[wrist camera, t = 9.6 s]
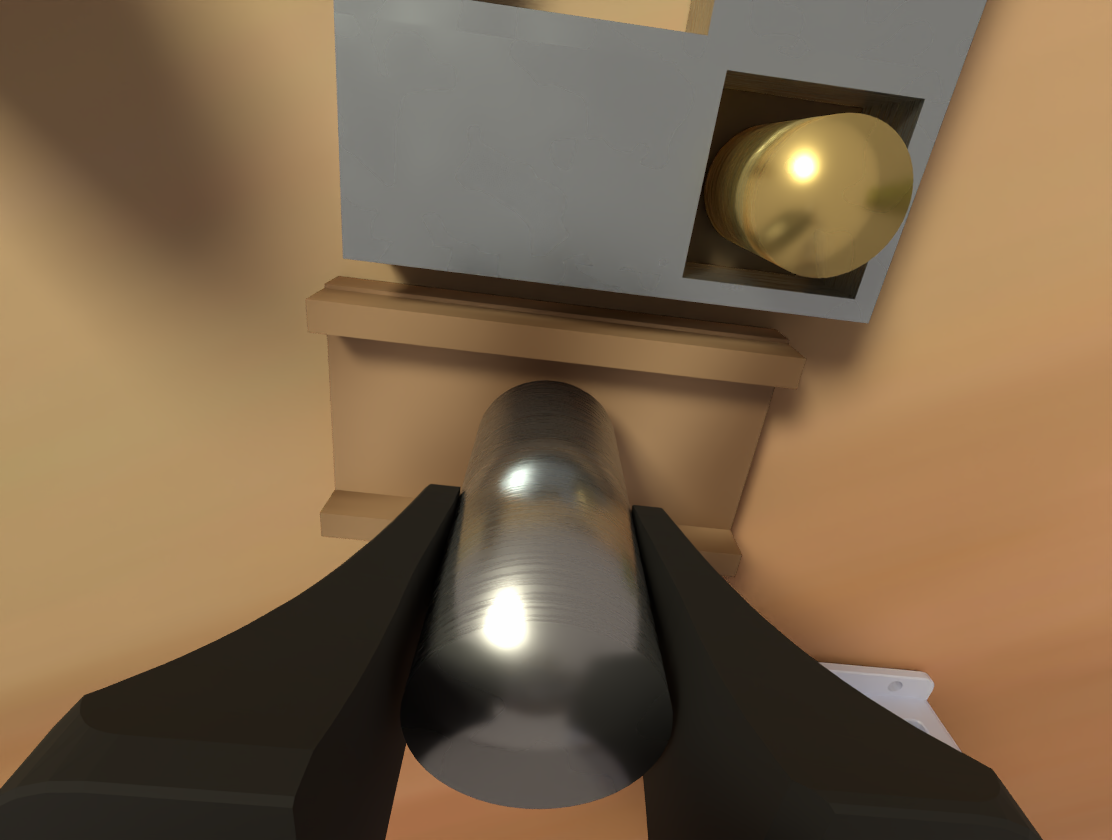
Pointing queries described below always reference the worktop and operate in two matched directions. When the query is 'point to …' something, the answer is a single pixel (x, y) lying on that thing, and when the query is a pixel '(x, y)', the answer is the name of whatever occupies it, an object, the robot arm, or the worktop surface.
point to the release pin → (812, 191)
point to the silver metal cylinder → (539, 617)
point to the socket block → (609, 133)
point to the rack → (532, 355)
